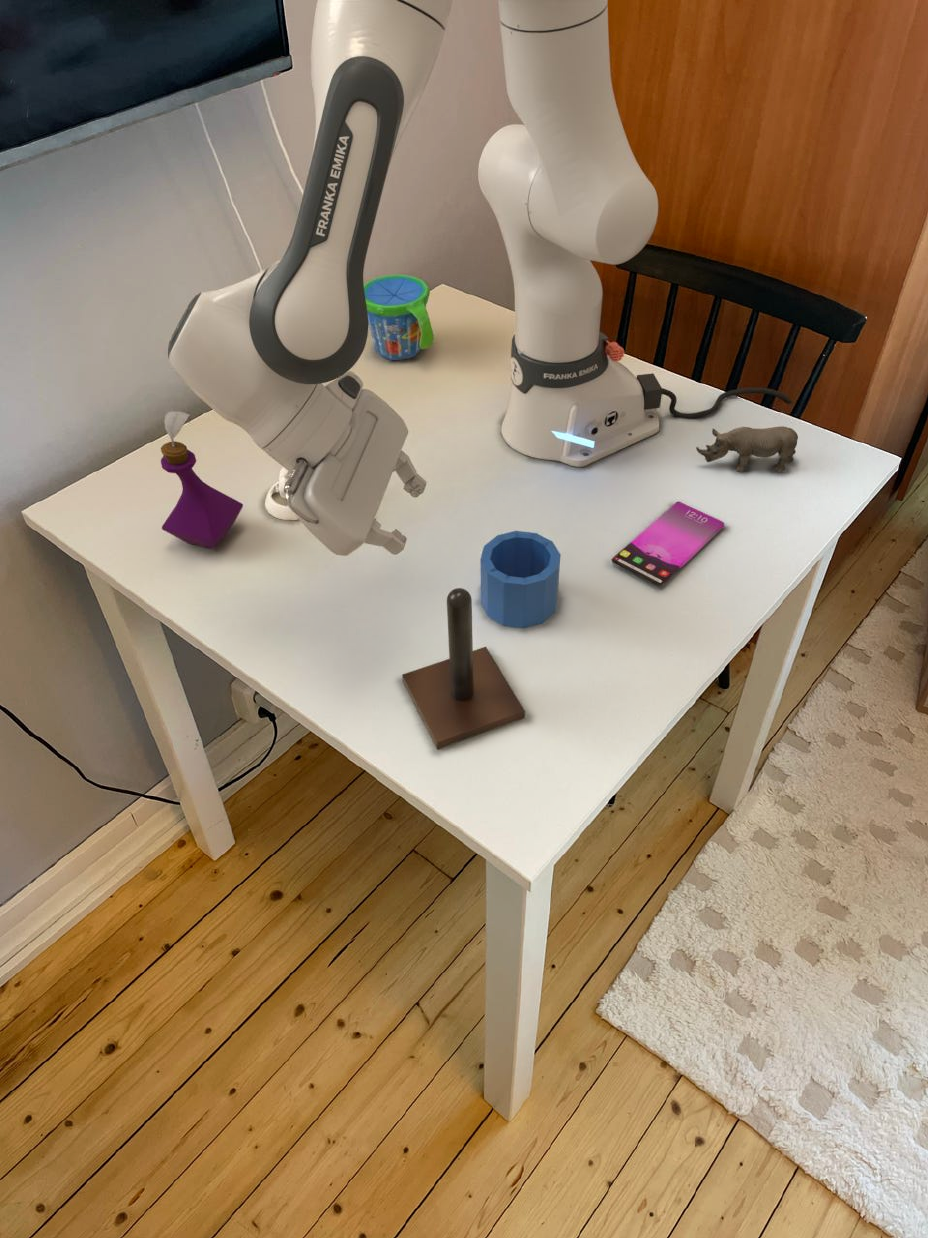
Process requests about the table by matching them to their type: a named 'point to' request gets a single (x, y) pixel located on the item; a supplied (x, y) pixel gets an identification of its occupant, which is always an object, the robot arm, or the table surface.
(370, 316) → the snack cup
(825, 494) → the table surface
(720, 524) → the smartphone
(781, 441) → the rhino figurine
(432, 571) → the table surface
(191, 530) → the perfume bottle
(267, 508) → the hook
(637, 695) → the table surface
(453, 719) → the stand
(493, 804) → the table surface
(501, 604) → the tape roll
